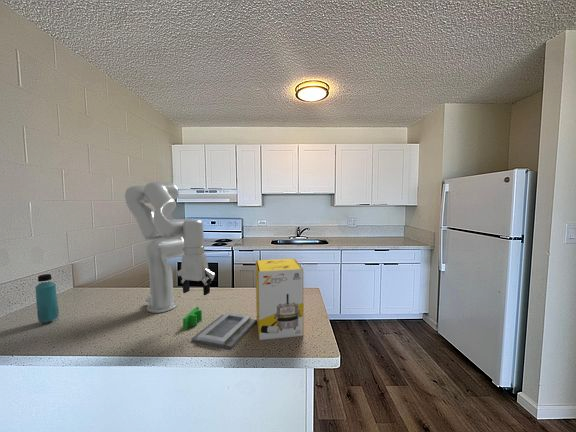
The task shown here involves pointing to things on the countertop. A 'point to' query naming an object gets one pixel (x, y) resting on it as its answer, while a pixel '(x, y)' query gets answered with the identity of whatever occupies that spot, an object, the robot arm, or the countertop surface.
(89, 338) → the countertop surface
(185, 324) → the pipe clamp
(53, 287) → the beverage bottle
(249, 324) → the groove block
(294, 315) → the packaging box
